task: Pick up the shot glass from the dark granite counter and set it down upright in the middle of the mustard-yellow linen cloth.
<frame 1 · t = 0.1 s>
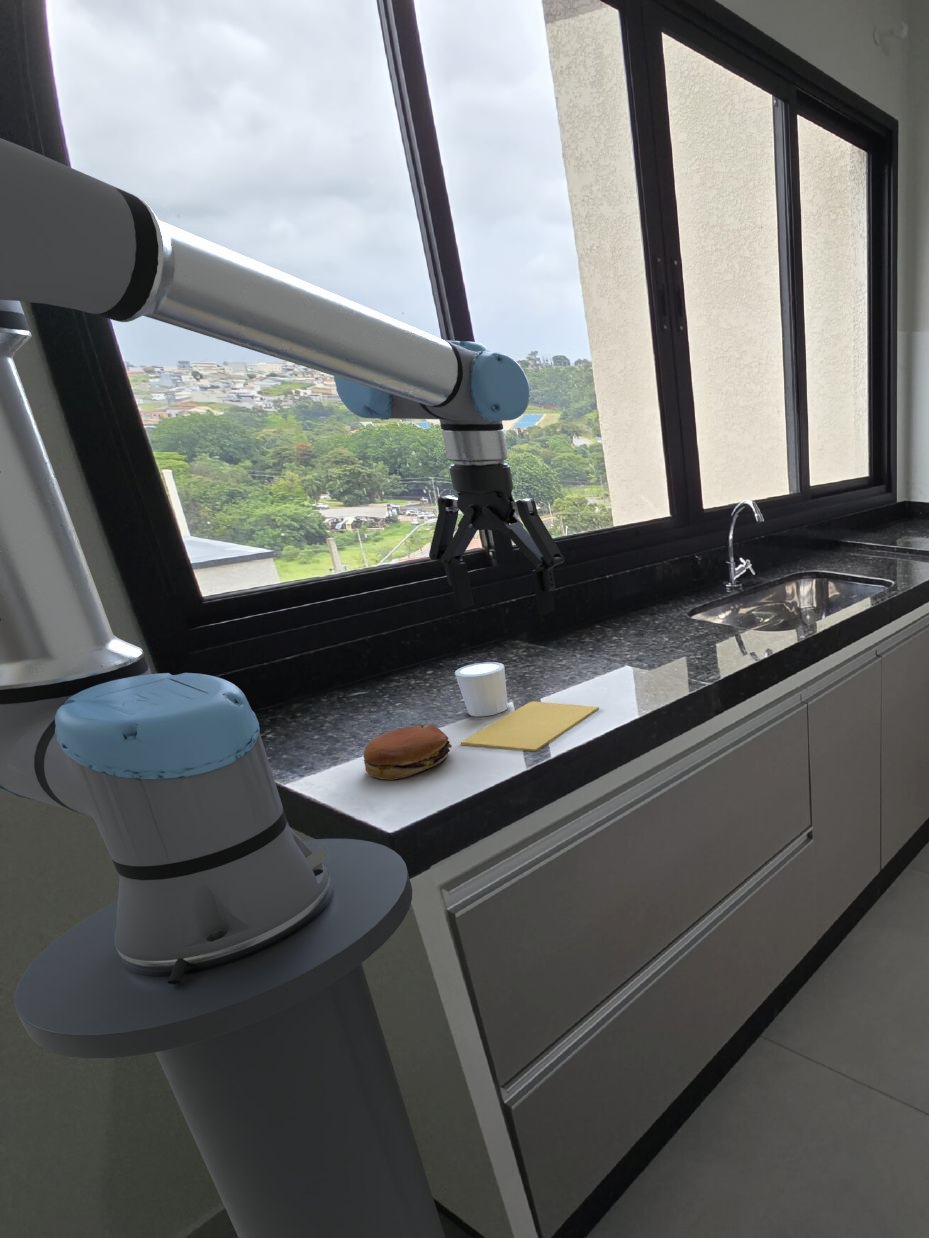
hand: (505, 609, 111), 17 cm above the countertop, tool pointing down, fingers open, 13 cm apart
cloth: (533, 725, 113), on the countertop
burger: (411, 766, 101), on the countertop
shot glass: (488, 710, 119), on the countertop
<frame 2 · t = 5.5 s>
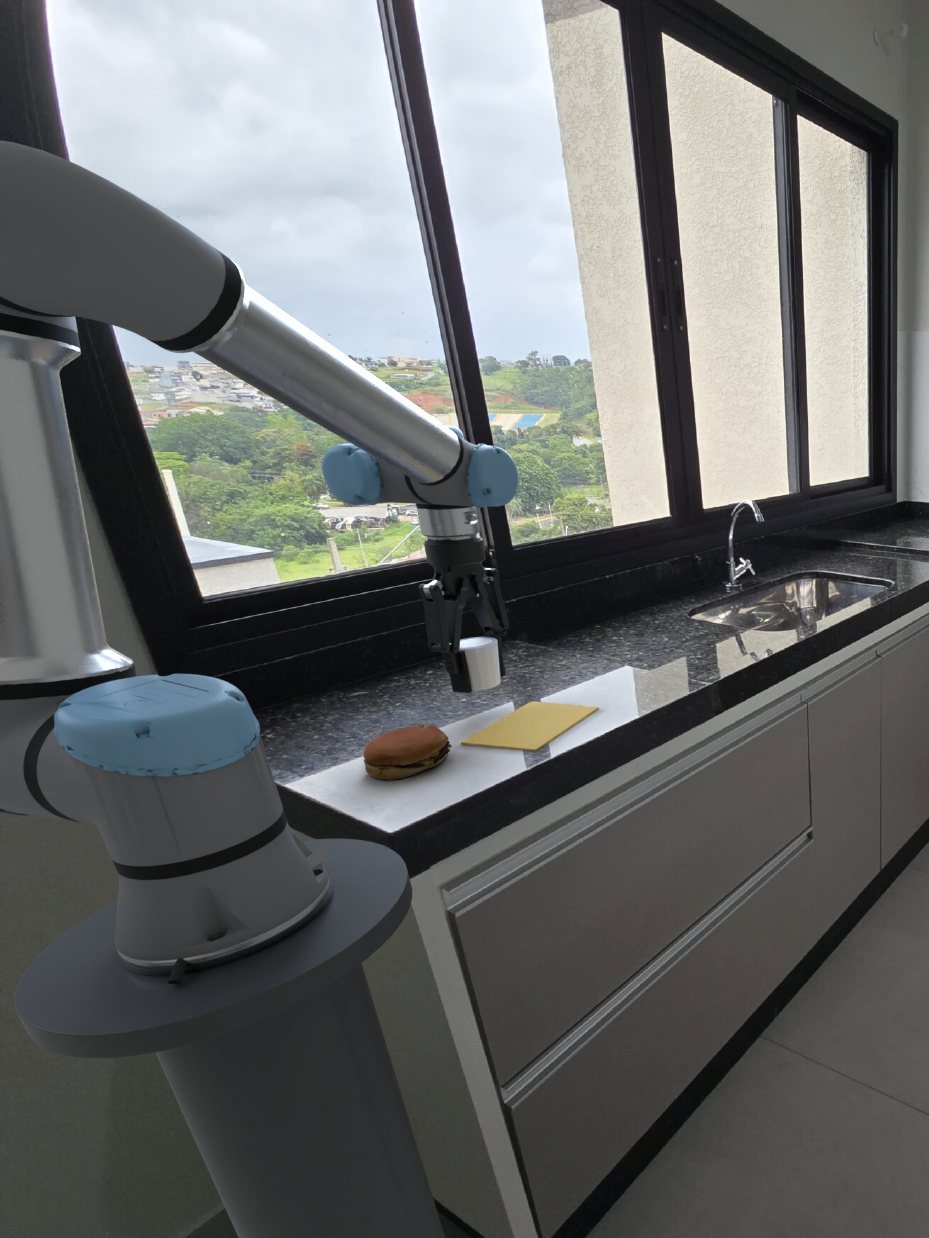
hand: (480, 683, 117), 5 cm above the countertop, tool pointing down, fingers closed on shot glass, 7 cm apart
shot glass: (480, 686, 117), point 4 cm above the countertop, touching gripper
everything else where it was.
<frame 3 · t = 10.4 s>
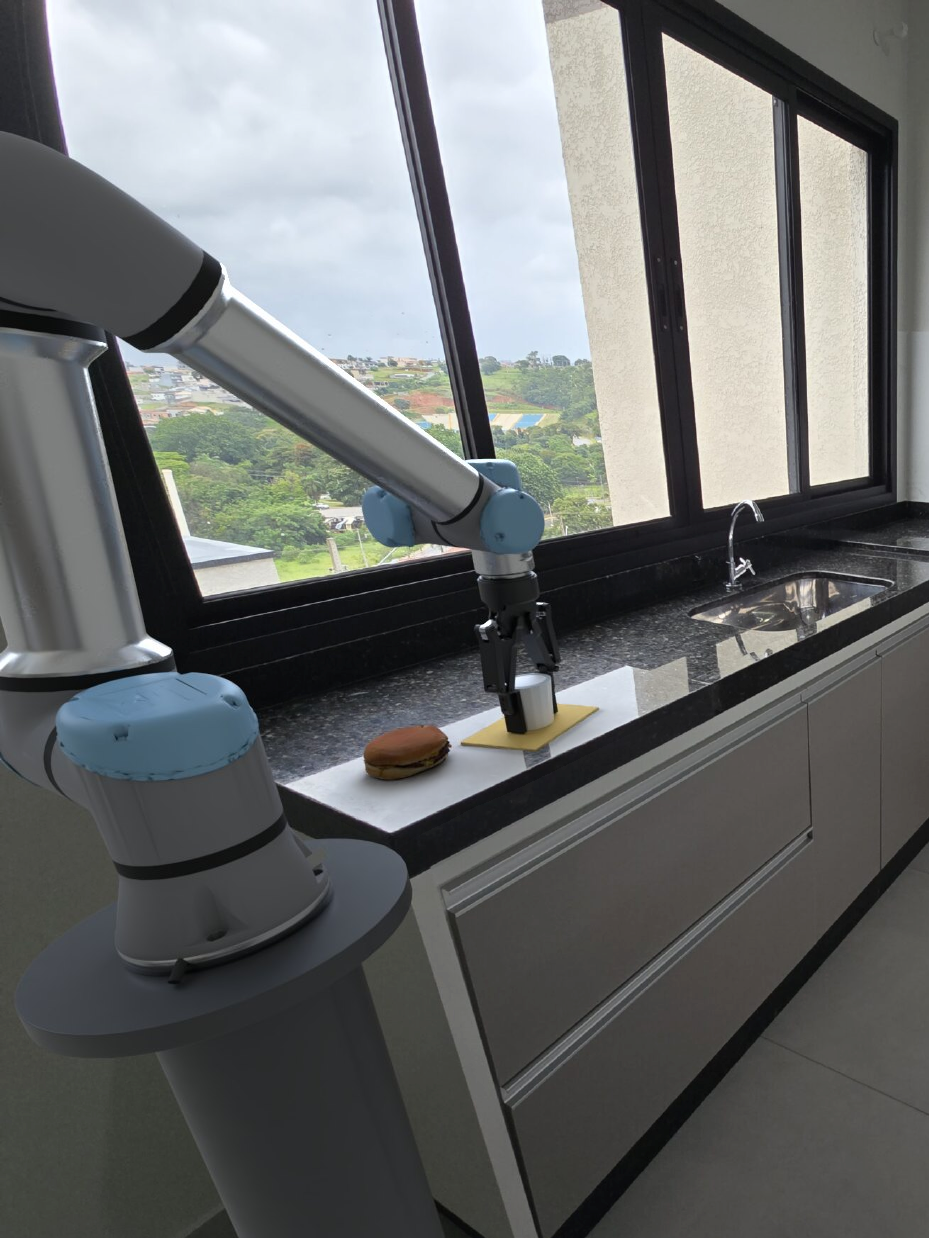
hand: (533, 721, 113), 1 cm above the countertop, tool pointing down, fingers closed on shot glass, 7 cm apart
shot glass: (534, 724, 113), resting on cloth, touching gripper
everything else where it was.
when the fingers open (1 cm above the countertop, at t = 10.5 s): shot glass stays where it is, resting on cloth.
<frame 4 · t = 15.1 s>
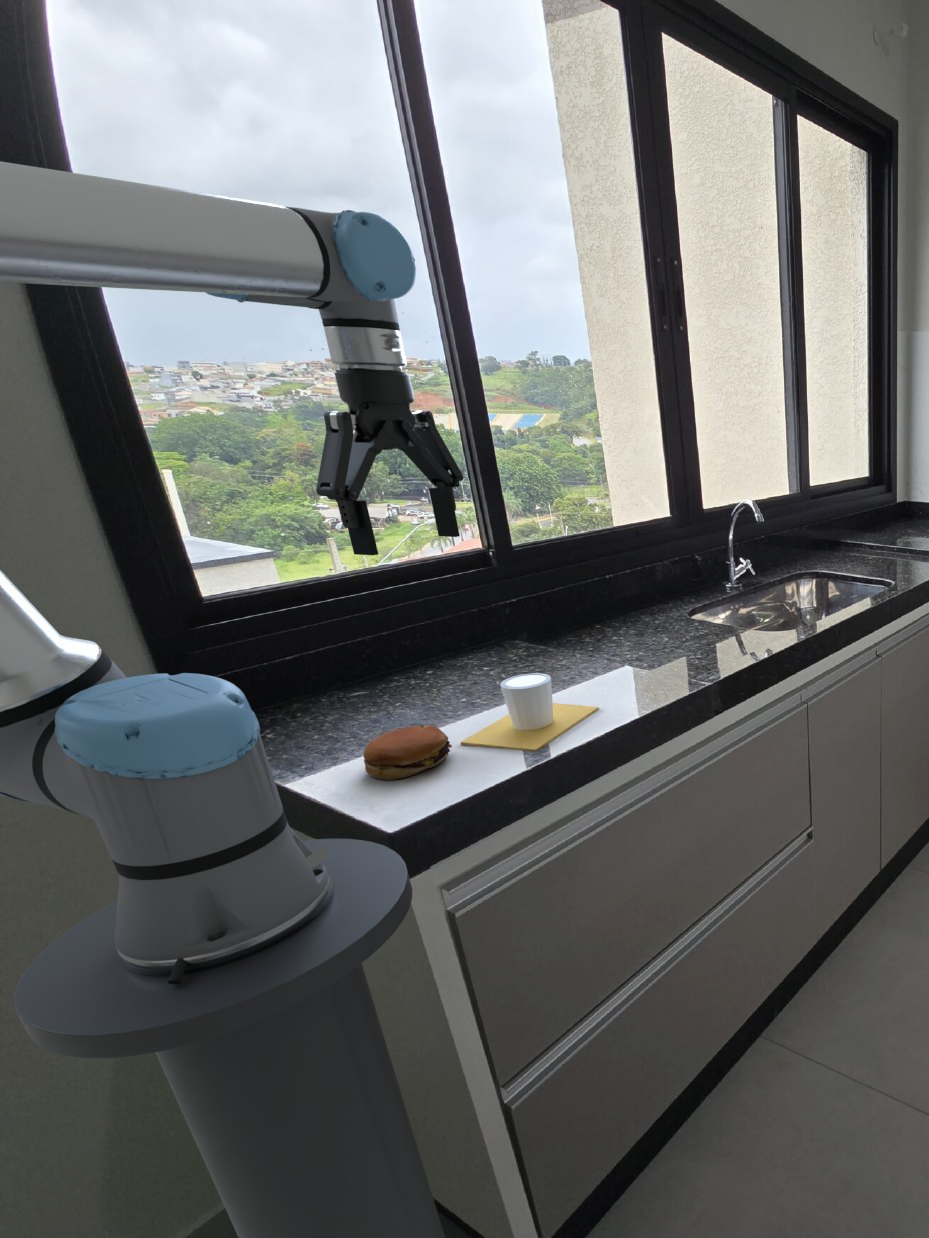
hand: (410, 545, 97), 29 cm above the countertop, tool pointing down, fingers open, 13 cm apart
shot glass: (534, 724, 113), resting on cloth
everything else where it was.
at the end: shot glass inside the target area on the cloth (0.1 cm from its centre), point 0.2 cm above the cloth's base; shot glass tilted 0°; the gripper is holding nothing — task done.
